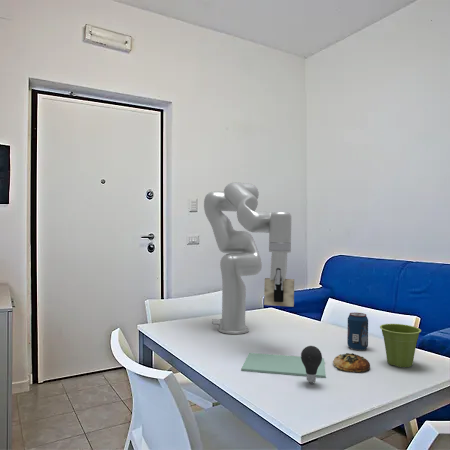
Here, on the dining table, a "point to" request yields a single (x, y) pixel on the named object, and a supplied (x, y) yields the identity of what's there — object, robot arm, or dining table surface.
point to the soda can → (357, 331)
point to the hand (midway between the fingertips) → (279, 300)
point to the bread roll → (351, 363)
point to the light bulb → (311, 362)
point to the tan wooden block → (288, 293)
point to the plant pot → (400, 343)
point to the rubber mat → (279, 365)
